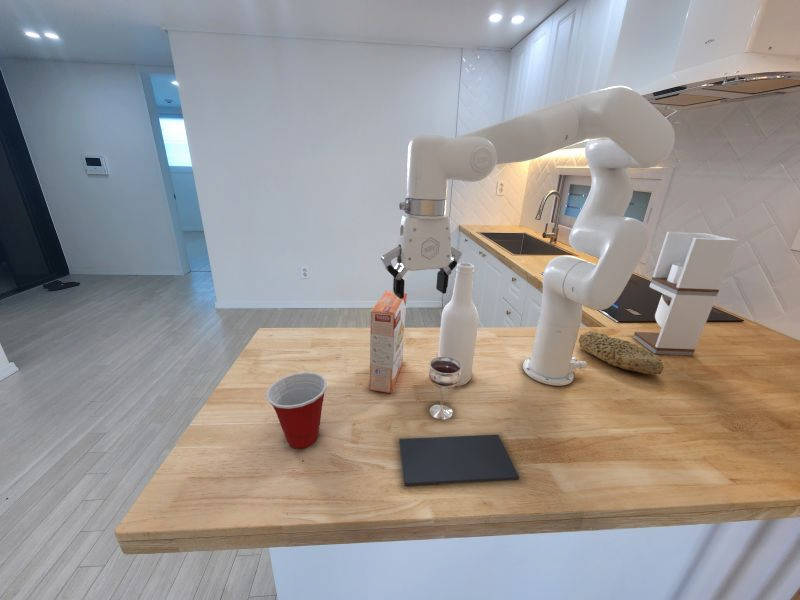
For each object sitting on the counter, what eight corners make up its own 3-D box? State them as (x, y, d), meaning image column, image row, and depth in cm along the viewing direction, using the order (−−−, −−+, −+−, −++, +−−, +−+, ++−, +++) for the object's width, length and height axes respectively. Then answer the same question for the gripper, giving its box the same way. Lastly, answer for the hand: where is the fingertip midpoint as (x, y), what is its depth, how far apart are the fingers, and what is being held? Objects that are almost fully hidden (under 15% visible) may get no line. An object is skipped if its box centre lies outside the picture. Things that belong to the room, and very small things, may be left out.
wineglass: (462, 412, 74) (468, 365, 70) (443, 427, 70) (448, 378, 65) (439, 397, 78) (443, 353, 74) (419, 410, 74) (422, 364, 70)
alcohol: (429, 376, 87) (438, 263, 76) (450, 363, 92) (460, 257, 81) (457, 391, 81) (471, 272, 70) (477, 377, 87) (493, 265, 76)
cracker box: (393, 394, 79) (395, 313, 71) (368, 390, 80) (368, 310, 72) (404, 363, 92) (407, 291, 84) (383, 360, 93) (384, 289, 85)
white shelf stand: (667, 338, 111) (705, 233, 99) (692, 355, 102) (739, 240, 89) (633, 337, 112) (667, 231, 99) (655, 353, 102) (696, 238, 89)
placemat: (497, 436, 68) (498, 434, 67) (518, 479, 58) (519, 476, 58) (399, 441, 66) (399, 438, 65) (404, 486, 56) (404, 483, 56)
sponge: (571, 353, 103) (632, 377, 84) (577, 328, 102) (640, 347, 83) (604, 355, 107) (669, 379, 88) (609, 332, 106) (677, 351, 87)
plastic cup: (296, 412, 72) (291, 364, 68) (340, 427, 69) (338, 377, 64) (259, 448, 63) (251, 395, 58) (308, 467, 59) (303, 412, 55)
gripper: (390, 211, 57) (388, 305, 63) (475, 210, 63) (466, 295, 69) (375, 206, 63) (375, 292, 69) (454, 206, 69) (447, 284, 76)
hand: (420, 293), depth 69 cm, fingers open, 9 cm apart
